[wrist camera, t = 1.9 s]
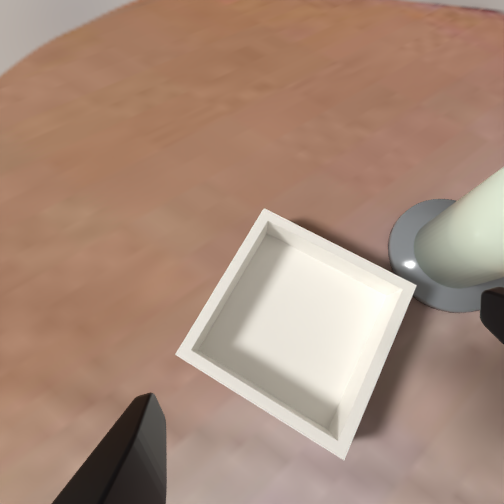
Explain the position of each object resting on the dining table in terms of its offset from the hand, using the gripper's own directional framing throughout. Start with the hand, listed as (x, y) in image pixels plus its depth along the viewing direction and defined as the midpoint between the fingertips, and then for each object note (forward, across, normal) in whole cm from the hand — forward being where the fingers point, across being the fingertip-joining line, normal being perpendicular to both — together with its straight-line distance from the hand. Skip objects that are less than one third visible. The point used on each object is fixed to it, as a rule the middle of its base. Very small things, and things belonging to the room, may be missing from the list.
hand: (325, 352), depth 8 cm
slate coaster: (+14, -14, +6) cm, 21 cm away
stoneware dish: (+13, -1, +8) cm, 15 cm away
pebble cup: (+13, -14, +6) cm, 20 cm away
